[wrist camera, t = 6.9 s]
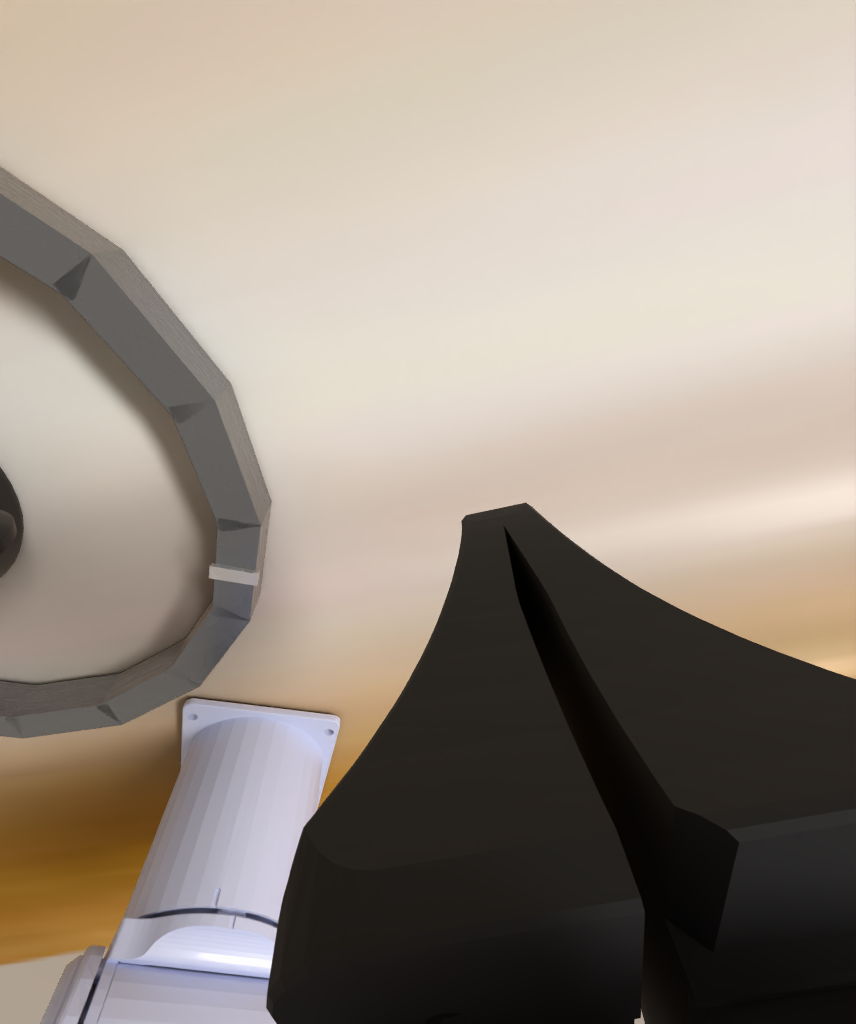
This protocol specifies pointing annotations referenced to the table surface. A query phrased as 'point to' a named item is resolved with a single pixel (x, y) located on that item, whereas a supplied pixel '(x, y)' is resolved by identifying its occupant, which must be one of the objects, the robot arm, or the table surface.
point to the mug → (9, 524)
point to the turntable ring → (205, 433)
